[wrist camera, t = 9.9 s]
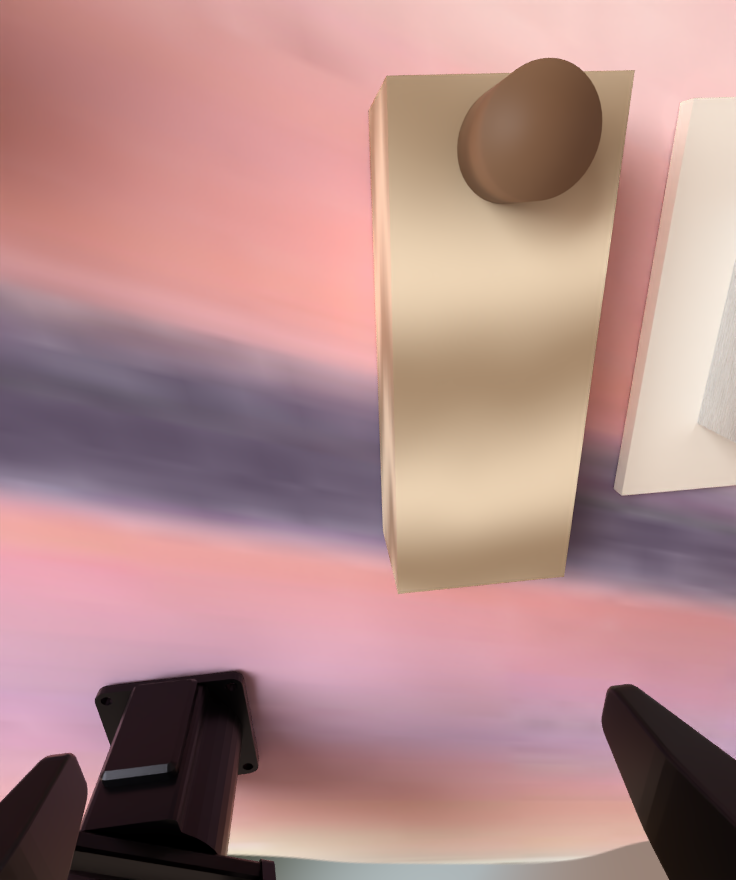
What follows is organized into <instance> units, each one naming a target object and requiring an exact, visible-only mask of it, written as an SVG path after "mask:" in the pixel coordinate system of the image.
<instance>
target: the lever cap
mask: <svg viewBox="0 0 736 880" xmlns="http://www.w3.org/2000/svg"><path fill="white" fill-rule="evenodd" d="M697 423H698V424H700V425H702V426H704V427H706V428H708V429H710V430H712V431H713V432H715V433H717V434H719V435H721V436H723V437H725V438H727V439H729V440H731V441H733V442H735V443H736V259H735V263H734V267H733V272H732V276H731V280H730V284H729V289H728V293H727V297H726V302H725V306H724V310H723V314H722V319H721V323H720V327H719V331H718V336H717V340H716V344H715V349H714V353H713V357H712V361H711V366H710V370H709V374H708V379H707V383H706V387H705V391H704V396H703V400H702V404H701V409H700V413H699V417H698V421H697Z"/></svg>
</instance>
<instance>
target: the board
mask: <svg viewBox="0 0 736 880" xmlns="http://www.w3.org/2000/svg"><path fill="white" fill-rule="evenodd" d="M735 259H736V97H719V98H693V99H690V100H687V101H683V102H681V103H680V108H679V114H678V120H677V126H676V132H675V137H674V143H673V149H672V155H671V160H670V166H669V172H668V178H667V184H666V189H665V195H664V201H663V207H662V212H661V218H660V224H659V230H658V236H657V241H656V247H655V253H654V259H653V264H652V270H651V276H650V282H649V288H648V293H647V299H646V305H645V311H644V316H643V322H642V328H641V334H640V340H639V345H638V351H637V357H636V363H635V368H634V374H633V380H632V386H631V392H630V397H629V403H628V409H627V415H626V420H625V426H624V432H623V438H622V444H621V449H620V455H619V461H618V467H617V472H616V478H615V484H614V489H615V490H616V491H617V492H618V493H619V494H620V495H621V496H622V495H633V494H644V493H655V492H666V491H677V490H688V489H698V488H709V487H720V486H731V485H736V443H735V442H733V441H731V440H729V439H727V438H725V437H723V436H721V435H719V434H717V433H715V432H713V431H712V430H710V429H708V428H706V427H704V426H702V425H700V424H698V423H697V421H698V417H699V413H700V409H701V404H702V400H703V396H704V391H705V387H706V383H707V379H708V374H709V370H710V366H711V361H712V357H713V353H714V349H715V344H716V340H717V336H718V331H719V327H720V323H721V319H722V314H723V310H724V306H725V302H726V297H727V293H728V289H729V284H730V280H731V276H732V272H733V267H734V263H735Z"/></svg>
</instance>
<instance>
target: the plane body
mask: <svg viewBox="0 0 736 880" xmlns="http://www.w3.org/2000/svg"><path fill="white" fill-rule="evenodd" d="M634 71H635V70H626V71H582V70H581V69H580V68H579V67H577V66H576V65H574V64H572V63H570V62H568V61H566V60H562V59H558V58H543V59H538V60H534V61H531V62H529V63H527V64H524V65H523V66H521V67H519V68H518V69H516V70H515V71H514V72H512V73H490V74H445V75H399V76H386V78H385V80H384V82H383V84H382V86H381V88H380V90H379V92H378V94H377V96H376V97H375V99H374V101H373V103H372V105H371V107H370V109H369V111H368V112H369V141H370V169H371V198H372V227H373V256H374V285H375V313H376V342H377V371H378V400H379V429H380V458H381V486H382V515H383V532H384V536H385V541H386V545H387V549H388V553H389V558H390V562H391V566H392V570H393V574H394V579H395V583H396V587H397V591H398V594H402V593H411V592H421V591H430V590H440V589H450V588H459V587H469V586H478V585H488V584H498V583H507V582H517V581H526V580H536V579H545V578H555V577H564V573H565V566H566V558H567V551H568V544H569V537H570V530H571V523H572V515H573V508H574V501H575V494H576V487H577V480H578V472H579V465H580V458H581V451H582V444H583V437H584V429H585V422H586V415H587V408H588V401H589V394H590V386H591V379H592V372H593V365H594V358H595V351H596V344H597V336H598V329H599V322H600V315H601V308H602V301H603V293H604V286H605V279H606V272H607V265H608V258H609V250H610V243H611V236H612V229H613V222H614V215H615V207H616V200H617V193H618V186H619V179H620V172H621V164H622V157H623V150H624V143H625V136H626V129H627V121H628V114H629V107H630V100H631V93H632V86H633V78H634Z"/></svg>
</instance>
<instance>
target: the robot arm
mask: <svg viewBox="0 0 736 880" xmlns="http://www.w3.org/2000/svg"><path fill="white" fill-rule="evenodd" d="M231 683H235V684H231ZM95 704H96V707H97V710H98V712H99V715H100V718H101V721H102V723H103V726H104V729H105V732H106V735H107V737H108V740H109V743H110V746H111V747H110V749H109V752H108V754H107V757H106V760H105V762H104V765H103V768H102V770H101V773H100V775H99V778H98V781H97V783H96V786H95V789H94V791H93V794H92V796H91V799H90V802H89V804H88V807H87V810H86V812H85V815H84V817H83V813H84V809H85V805H86V801H87V783H86V781H85V778H84V776H83V773H82V771H81V768H80V766H79V764H78V761H77V759H76V757H75V755H73V754H72V753H64V754H56V755H50V756H47V757H45V758H43V759H42V760H41V761H40V762H38V763H37V765H36V766H35V767H34V768H33V769H32V770H31V771H30V772H29V773H28V774H27V775H26V776H25V777H24V778H23V779H22V780H21V781H20V782H19V783H18V784H17V785H16V786H15V787H14V788H13V789H12V790H11V792H10V793H9V794H8V795H7V796H6V797H5V798H4V799H3V800H2V801H1V802H0V880H276V875H275V864H274V861H269V860H263V859H260V861H259V862H258V861H252V860H246V859H241V858H235V857H229V856H227V852H228V844H229V837H230V829H231V821H232V814H233V806H234V799H235V791H236V783H237V776H238V775H239V774H247V773H252V772H254V771H256V770H257V768H258V761H259V756H258V750H257V745H256V740H255V735H254V729H253V724H252V719H251V714H250V708H249V703H248V698H247V693H246V687H245V682H244V678H243V676H242V675H241V674H240V673H237V672H225V673H216V674H207V675H198V676H190V677H181V678H172V679H163V680H154V681H146V682H137V683H128V684H119V685H110V686H105V687H102V688H101V689H100V690H99V692H98V694H97V696H96V698H95ZM602 728H603V731H604V734H605V737H606V739H607V741H608V744H609V746H610V749H611V751H612V754H613V756H614V759H615V761H616V763H617V766H618V768H619V771H620V773H621V776H622V778H623V781H624V783H625V786H626V788H627V790H628V793H629V795H630V798H631V800H632V803H633V805H634V808H635V810H636V812H637V815H638V817H639V819H640V822H641V824H642V826H643V829H644V831H645V833H646V835H647V837H648V839H649V841H650V843H651V845H652V847H653V849H654V851H655V853H656V855H657V857H658V859H659V861H660V863H661V865H662V867H663V868H664V870H665V872H666V874H667V876H668V878H669V880H736V760H735V759H734V758H732V757H731V756H730V755H728V754H727V753H725V752H724V751H723V750H721V749H720V748H719V747H717V746H716V745H715V744H713V743H712V742H711V741H709V740H708V739H707V738H705V737H704V736H703V735H701V734H700V733H699V732H697V731H696V730H694V729H693V728H692V727H690V726H689V725H688V724H686V723H685V722H684V721H682V720H681V719H680V718H678V717H677V716H676V715H674V714H673V713H672V712H670V711H669V710H667V709H666V708H665V707H663V706H662V705H661V704H659V703H658V702H657V701H655V700H654V699H653V698H651V697H650V696H649V695H647V694H646V693H645V692H643V691H642V690H641V689H639V688H638V687H636V686H634V685H631V684H624V685H616V686H611V687H609V689H608V690H607V693H606V698H605V703H604V708H603V713H602ZM82 818H83V820H82ZM81 822H82V823H81Z"/></svg>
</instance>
